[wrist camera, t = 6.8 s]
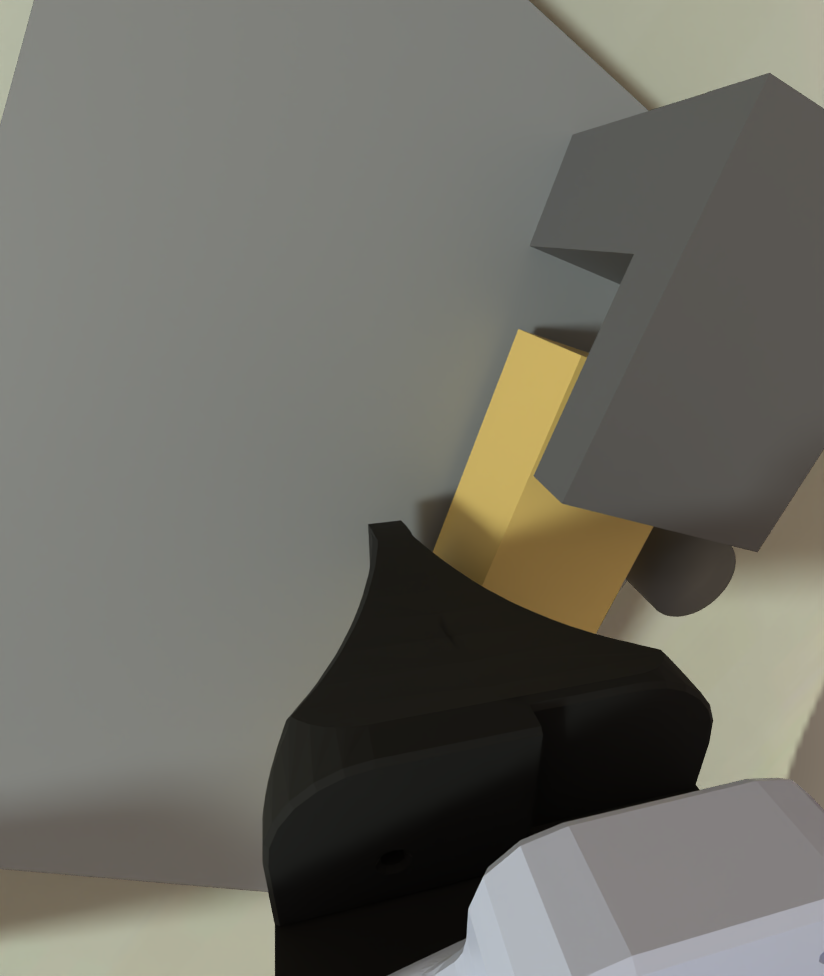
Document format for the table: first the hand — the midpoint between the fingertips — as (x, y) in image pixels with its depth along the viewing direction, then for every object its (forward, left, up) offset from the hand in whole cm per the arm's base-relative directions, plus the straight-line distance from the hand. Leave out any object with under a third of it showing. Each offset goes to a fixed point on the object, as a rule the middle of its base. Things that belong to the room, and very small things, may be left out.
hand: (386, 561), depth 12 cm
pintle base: (+1, +1, -2) cm, 3 cm away
